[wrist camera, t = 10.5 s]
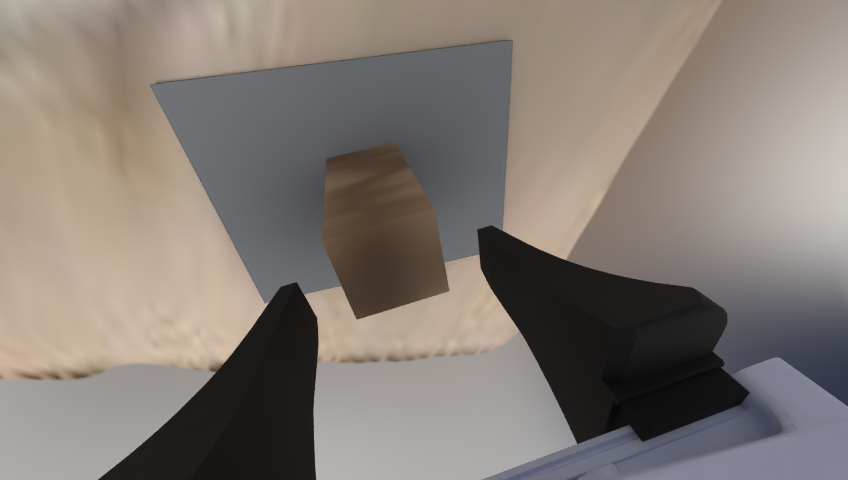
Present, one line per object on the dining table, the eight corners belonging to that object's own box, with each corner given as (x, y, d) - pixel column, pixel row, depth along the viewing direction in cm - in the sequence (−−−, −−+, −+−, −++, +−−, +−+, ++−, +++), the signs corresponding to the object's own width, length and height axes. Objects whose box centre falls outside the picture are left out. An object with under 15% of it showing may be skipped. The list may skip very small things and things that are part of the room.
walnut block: (394, 141, 18) (434, 209, 11) (408, 201, 21) (449, 290, 13) (326, 158, 18) (321, 240, 11) (348, 217, 20) (356, 319, 13)
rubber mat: (507, 40, 17) (512, 40, 17) (498, 245, 25) (501, 249, 25) (155, 83, 15) (149, 85, 14) (266, 297, 23) (264, 303, 22)
